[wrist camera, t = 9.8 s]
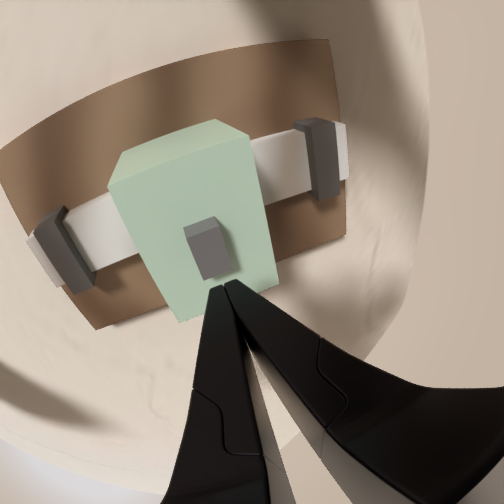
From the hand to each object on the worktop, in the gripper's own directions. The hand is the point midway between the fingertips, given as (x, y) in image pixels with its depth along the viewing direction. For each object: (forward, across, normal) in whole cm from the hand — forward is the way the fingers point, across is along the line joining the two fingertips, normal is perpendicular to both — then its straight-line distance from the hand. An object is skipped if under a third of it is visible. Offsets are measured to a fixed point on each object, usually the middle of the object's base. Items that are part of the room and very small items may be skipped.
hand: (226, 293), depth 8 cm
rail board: (+10, 0, 0) cm, 10 cm away
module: (+8, 0, 0) cm, 8 cm away
